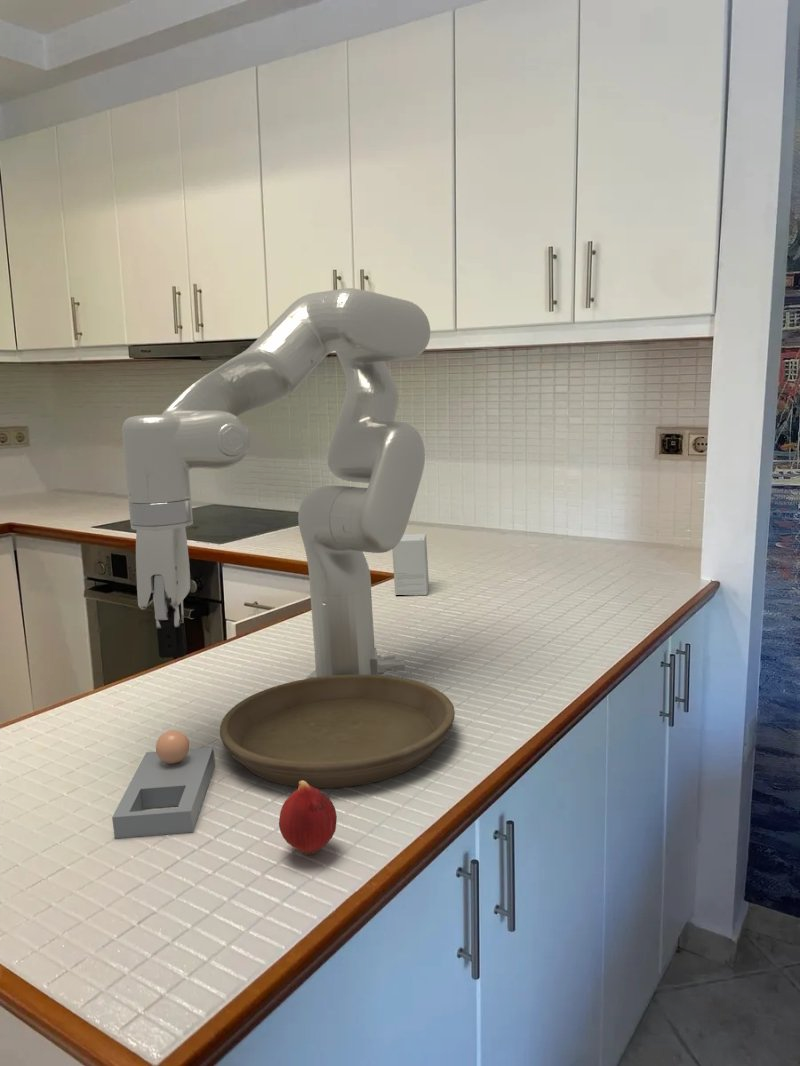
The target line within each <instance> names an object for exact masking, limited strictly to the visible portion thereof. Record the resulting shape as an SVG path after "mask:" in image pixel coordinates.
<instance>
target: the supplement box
mask: <svg viewBox="0 0 800 1066" xmlns="http://www.w3.org/2000/svg"><path fill="white" fill-rule="evenodd" d="M427 542H428V541H427V533H416V534H415V533H413V534H412V533H411V534H404V535H403V537H402V539H401V540H400V542H399V543H398V544H397V545H396V546H395V547H394V548H393V549H392V550H391V551H392V552H391V553H392V565H393V578H394V579H393V581H394V591H395V592H394V593H395V594H394V595H395V596H396V595H414V596H428V594H429V590H430V582H429V581H430V580H429V565H428V563H429V562H428V545H427V544H428V543H427ZM428 589H429V590H428Z"/></svg>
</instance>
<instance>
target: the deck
mask: <svg viewBox="0 0 800 1066" xmlns="http://www.w3.org/2000/svg"><path fill="white" fill-rule="evenodd" d="M215 767H216V762H215V751H214V746H213V747H212V746H209V747H198V748H197V747H196V748H195V747H194V748H189V752H188V754H187V756H186V757H185V758H184V759H183V760H182V761H180V762H178V763H175V764H168V763H165V762H163V761H162V760H161V759H160V758H159V757H158V755H157V753H156V750H155V751H146V752H145V754H144V756H143V758H142V759H141V761H140V763H139V765H138V767H137V769H136V771H135V773H134V775H133V776H132V778H131V781H130V782H129V784H128V787H127V788H126V790H125V792H124V794H123V795H122V798H121V799H120V801H119V803H118V806H117V807H116V809H115V811H114V813H113V814H112V816H111V818H112V827H113V835H114V839H124V838H126V839H127V838H137V837H151V836H161V835H163V836H165V835H173V834H174V835H175V834H176V835H177V834H185V833H189V834H190V833H194V831H195V829H196V828H195V827H196V825H197V821H198V818H199V815H200V812H201V809H202V806H203V804H204V800H205V797H206V794H207V791H208V789H209V785H210V783H211V779H212V775H213V773H214V769H215ZM170 807H171V808H170ZM172 807H173V808H172ZM155 808H158V809H155ZM159 808H161V809H159ZM162 808H163V809H162ZM145 809H147V810H145Z"/></svg>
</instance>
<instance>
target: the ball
mask: <svg viewBox="0 0 800 1066" xmlns="http://www.w3.org/2000/svg"><path fill="white" fill-rule="evenodd" d="M189 749H190V741H189V738H188V736H187V734H185V733H183V731H180V730H177V729H176V730H175V729H172V730H167V731H165V732H164V733H161V735H160V736H159V737H158V739H157V741H156V743H155V751H156V753H157V755H158V757H159V758H160V759H161V760H162V761H163V762H165V763H168V764H175V763H178V762H180V761H182V760H183V759H184V758H185V757H186V756H187V754H188V752H189Z"/></svg>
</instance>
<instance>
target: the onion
mask: <svg viewBox="0 0 800 1066" xmlns="http://www.w3.org/2000/svg"><path fill="white" fill-rule="evenodd" d="M337 816H338V815H337V811H336V807H335V805H334V803H333V801H332V800H331V799H330V798H329V797H328V796H327V795H326V794H325V793H323V792H322V791H321V790H320V789H319V788H313V787H312V786H310V785H308V784H307V782H306V781H299V787H298V788H297V789H296V790H294V791H293V792H292V793H291V794H290V795H289V796H288V797H287V798H286V800H284V802H283V804H282V806H281V810H280V811H279V819H278V826H279V827H278V828H279V830H280V833H281V836H282V837H283V839H284V841H286V843H287V844H288V845H290V846H291V847H293V848H294V849H295V850H298V851H299V852H301V853H303V854H305V855H308V856H309V855H313V854H314V853H316V852H318V851H320V850H321V849H323V848H324V847H326V845H327V844H328V843H329V842H330V841H331V840H332V838H333V836H334V835H335V832H336V828H337Z"/></svg>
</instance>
